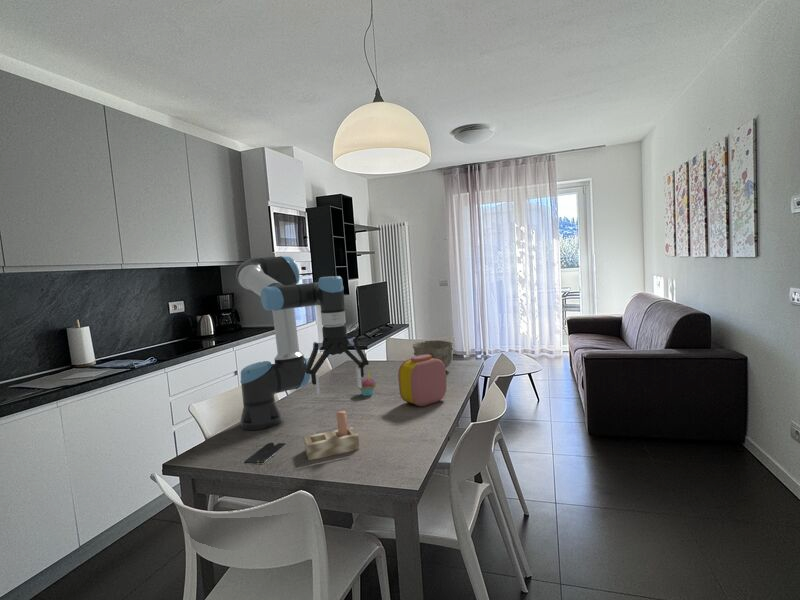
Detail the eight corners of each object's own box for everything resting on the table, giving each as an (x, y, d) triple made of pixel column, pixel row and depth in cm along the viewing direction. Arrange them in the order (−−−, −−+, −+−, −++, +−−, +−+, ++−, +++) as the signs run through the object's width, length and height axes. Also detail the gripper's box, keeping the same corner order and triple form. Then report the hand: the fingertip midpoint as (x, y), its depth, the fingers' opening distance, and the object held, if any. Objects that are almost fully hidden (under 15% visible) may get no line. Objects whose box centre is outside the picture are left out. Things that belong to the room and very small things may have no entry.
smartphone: (287, 442, 147) (263, 462, 133) (288, 445, 147) (263, 465, 133) (268, 441, 149) (242, 461, 134) (268, 444, 149) (242, 464, 134)
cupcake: (377, 391, 201) (376, 366, 200) (375, 397, 193) (373, 370, 192) (359, 392, 202) (357, 366, 201) (356, 397, 194) (354, 371, 193)
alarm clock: (432, 394, 191) (429, 351, 190) (449, 399, 182) (446, 354, 181) (398, 404, 180) (395, 358, 179) (415, 410, 171) (411, 362, 170)
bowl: (434, 364, 246) (433, 338, 245) (463, 369, 230) (461, 342, 228) (405, 372, 233) (403, 345, 231) (433, 379, 216) (431, 349, 215)
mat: (321, 443, 146) (321, 442, 146) (316, 433, 155) (316, 432, 155) (350, 437, 149) (350, 436, 149) (343, 427, 158) (343, 426, 158)
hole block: (308, 461, 132) (307, 445, 132) (305, 451, 140) (303, 436, 139) (359, 450, 138) (358, 435, 137) (353, 441, 145) (352, 426, 145)
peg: (340, 451, 138) (337, 414, 137) (338, 447, 141) (335, 411, 140) (349, 449, 139) (346, 412, 138) (347, 445, 142) (344, 410, 141)
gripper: (295, 331, 129) (301, 400, 131) (375, 322, 138) (379, 387, 140) (292, 328, 136) (298, 393, 138) (368, 319, 145) (372, 381, 147)
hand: (339, 390), depth 139 cm, fingers open, 13 cm apart
